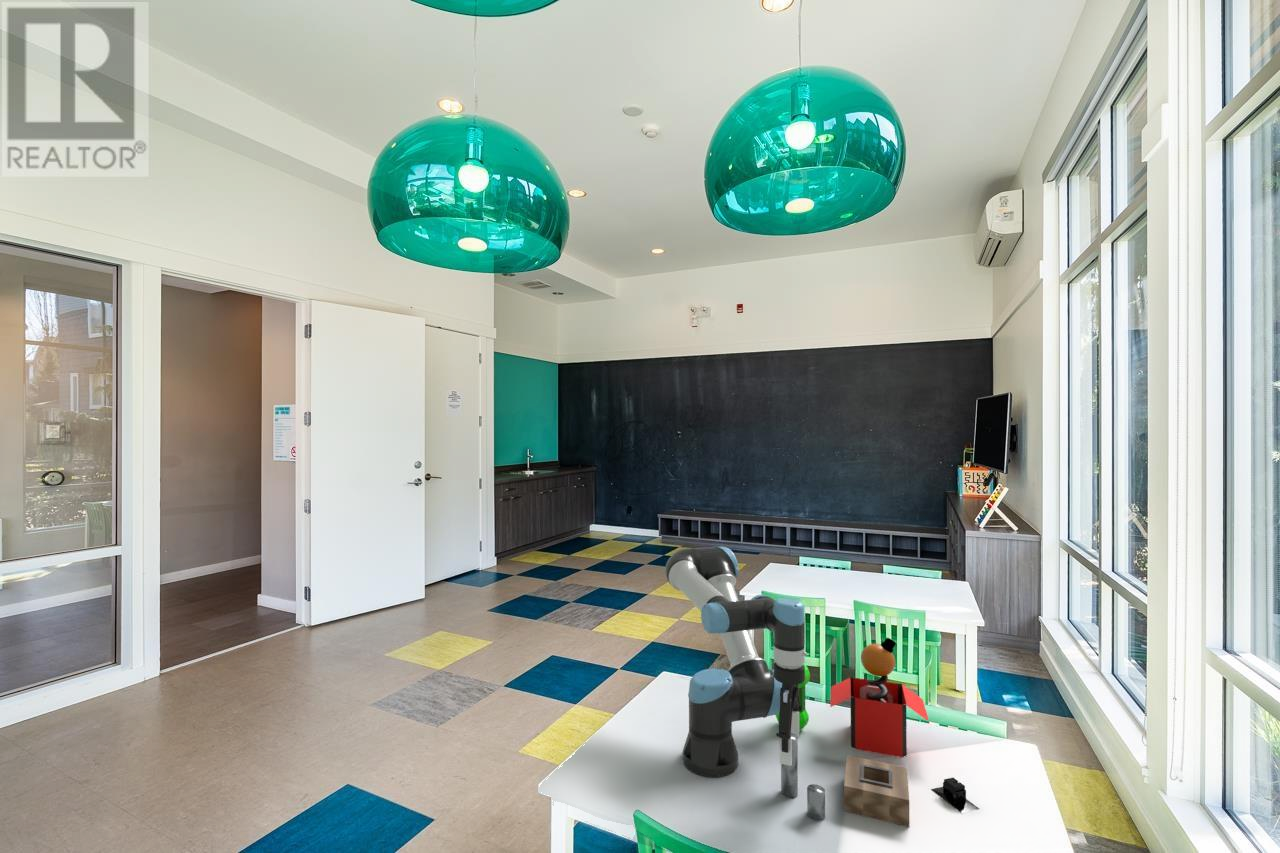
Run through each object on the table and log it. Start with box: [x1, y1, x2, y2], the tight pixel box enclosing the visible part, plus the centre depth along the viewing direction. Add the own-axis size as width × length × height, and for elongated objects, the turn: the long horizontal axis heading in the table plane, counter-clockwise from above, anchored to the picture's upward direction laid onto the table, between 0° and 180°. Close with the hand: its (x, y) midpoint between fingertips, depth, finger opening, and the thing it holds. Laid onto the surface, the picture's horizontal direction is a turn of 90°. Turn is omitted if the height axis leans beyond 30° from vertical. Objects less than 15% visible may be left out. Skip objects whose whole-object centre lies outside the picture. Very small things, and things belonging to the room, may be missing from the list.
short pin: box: [806, 783, 826, 822], centre depth 135 cm, size 4×4×6 cm
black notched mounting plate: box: [930, 777, 980, 814], centre depth 141 cm, size 12×7×5 cm, turn 16°
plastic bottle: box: [774, 662, 811, 732], centre depth 175 cm, size 10×10×25 cm
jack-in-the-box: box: [829, 637, 930, 758], centre depth 169 cm, size 26×16×30 cm, turn 71°
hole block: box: [843, 755, 910, 828], centre depth 140 cm, size 14×14×6 cm
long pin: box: [780, 733, 799, 799], centre depth 143 cm, size 4×4×14 cm
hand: (789, 749), depth 143 cm, fingers open, 13 cm apart
